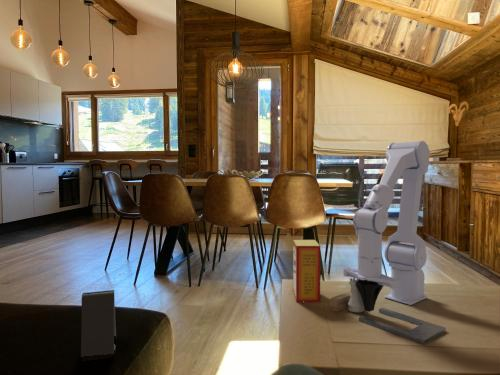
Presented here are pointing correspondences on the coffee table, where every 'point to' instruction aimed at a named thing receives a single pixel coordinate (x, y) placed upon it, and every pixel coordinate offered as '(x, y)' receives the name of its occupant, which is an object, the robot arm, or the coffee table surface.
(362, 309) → the rook chess piece
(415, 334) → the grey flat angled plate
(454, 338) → the coffee table surface
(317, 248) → the baking soda box
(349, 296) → the stop block
